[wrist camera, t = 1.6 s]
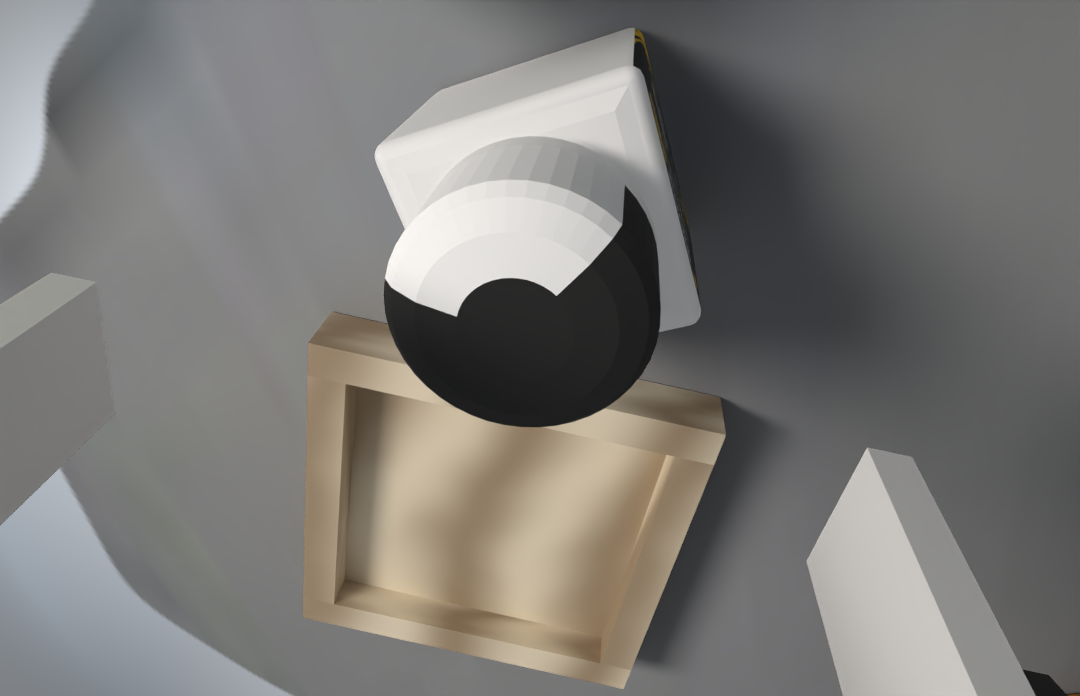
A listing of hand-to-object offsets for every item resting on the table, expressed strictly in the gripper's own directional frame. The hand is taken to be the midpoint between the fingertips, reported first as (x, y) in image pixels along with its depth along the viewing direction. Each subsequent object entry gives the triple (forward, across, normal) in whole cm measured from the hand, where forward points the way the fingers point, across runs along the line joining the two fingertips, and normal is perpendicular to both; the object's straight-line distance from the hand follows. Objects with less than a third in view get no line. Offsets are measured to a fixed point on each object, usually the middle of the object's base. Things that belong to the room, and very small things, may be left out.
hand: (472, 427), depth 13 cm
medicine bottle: (+15, 0, 0) cm, 15 cm away
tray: (+15, 0, -16) cm, 22 cm away
